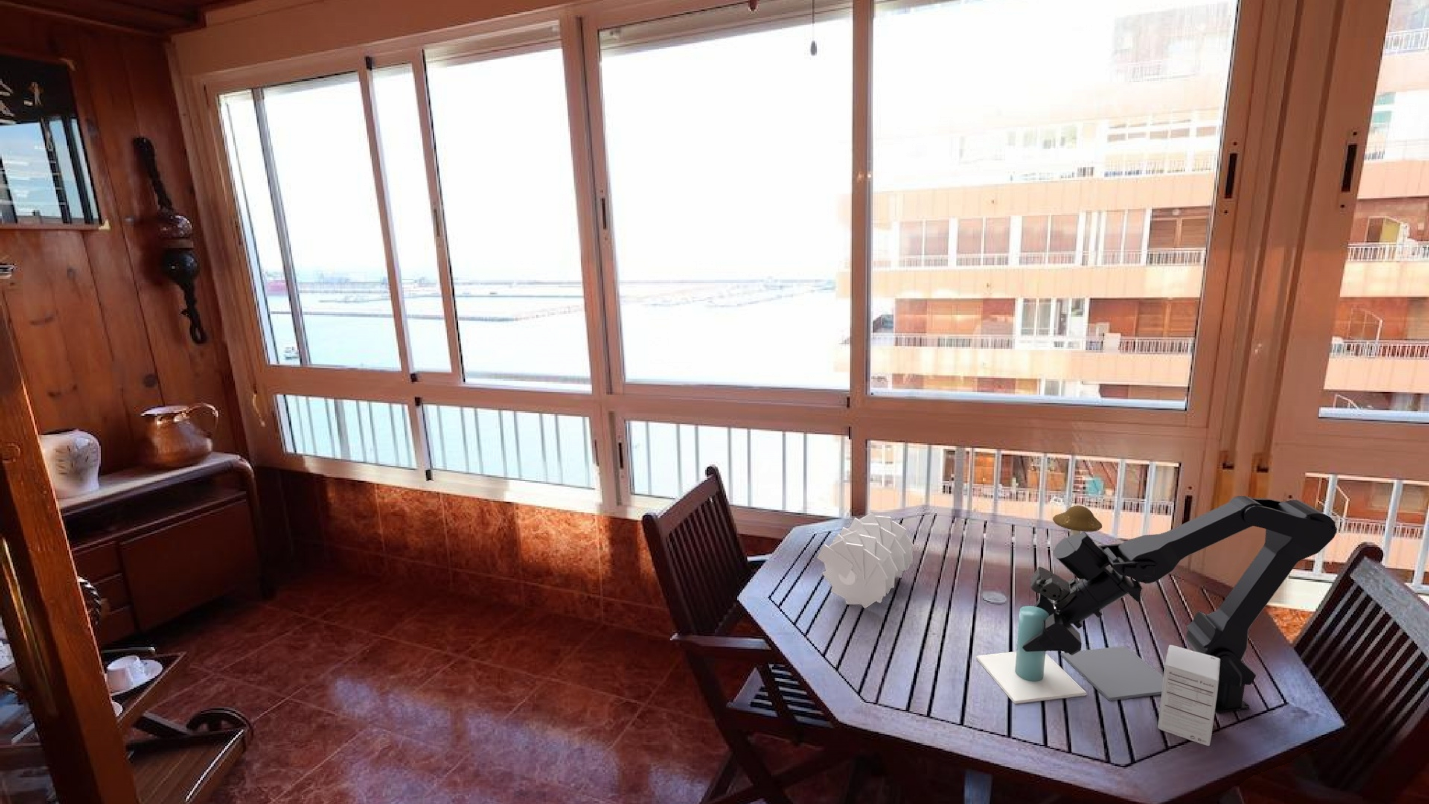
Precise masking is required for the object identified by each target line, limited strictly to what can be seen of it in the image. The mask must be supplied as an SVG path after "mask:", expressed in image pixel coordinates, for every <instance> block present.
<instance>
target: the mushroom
mask: <svg viewBox="0 0 1429 804" xmlns="http://www.w3.org/2000/svg"><path fill="white" fill-rule="evenodd" d="M1052 521H1053V523H1054V524H1056V525H1057V526H1059V527H1061V528H1064V529H1067V530H1070V535H1069V536H1072V535H1079V534H1081V532H1085V533H1089V532H1090V533H1093V532H1098V531H1100V530H1101V529H1102V528H1103V523H1102V522H1101V521H1099V519H1097V518H1096V516H1095V515H1094V513H1093V511H1092V510H1090V509H1089V508H1088V507H1086V506H1084V505H1073V506H1071V507H1069V508H1068V509H1067V510H1065V512H1061V513H1058V514H1055V515H1054V516H1053V517H1052Z"/></svg>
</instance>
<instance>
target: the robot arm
mask: <svg viewBox="0 0 1429 804" xmlns="http://www.w3.org/2000/svg"><path fill="white" fill-rule="evenodd" d="M1252 527H1256V528H1260V529H1264V530H1265V538H1264V544H1263V546H1262V547H1261V548H1260V550H1259V552H1258V553H1257V554H1256V555H1255V557H1254V558H1253V559H1252V561H1251V563H1250V564H1249V566H1248V567H1247V568H1246V569H1245V571H1244V573H1242V575H1241V576H1240V578H1239V579H1238V581H1237V582H1236V584H1235V585H1234V587H1232V589H1231V590H1230V592H1229V593H1228V595H1227V596H1226V598H1225V599H1224V600H1223V601H1222V603H1221V605H1220V606H1219V608H1217V610H1215V611H1212V612H1210V613H1207V614H1206V613H1204V612H1202V611H1201V610H1200V611H1199V610H1198V612H1196V613H1195V616H1194V618H1193V620H1192V621H1191V622H1190V623H1189V624H1187V625H1186V626H1185V628H1186V630H1187V632H1186V634H1185V637H1186V641H1187V644H1188V645H1189V647H1191V648H1192V651H1195V652H1199V653H1203V654H1207V655H1210V656H1213V657H1217V658H1219V659H1220V670H1219V682H1218V691H1217V699H1216V706H1215V712H1216V713H1226V712H1228V713H1229V712H1235V711H1243V710H1250V705H1249V704H1248V703H1247V702H1245V701H1244V696H1245V695H1244V694H1245V689H1246V688H1245V687H1246V685H1248V686H1251V685H1252V683H1253V682H1254V681H1255V679H1256V677H1257V675H1256V673H1255V672H1254V671H1253V670H1252V669H1251V668H1250V667H1249V666H1248V665H1247V664H1246V662H1244V660H1243V658H1244V655H1245V653H1246V652H1247V649H1248V641H1249V640H1248V639H1249V629H1250V628H1251V627H1252V625H1253V624H1254V622H1255V620H1256V619H1257V618H1258V617H1259V615H1260V614H1261V613H1262V611H1263V610H1264V609H1265V607H1266V606H1267V605H1268V603H1269V602H1270V600H1271V599H1272V598H1273V596H1274V595H1275V594H1276V593H1277V591H1278V590H1279V589H1280V587H1281V586H1282V584H1283V583H1284V582H1285V580H1286V579H1287V578H1288V576H1289V575H1290V573H1292V571H1293V569H1295V567H1296V566H1297V564H1298V563H1299V562H1300V561H1302V560H1305V559H1307V558H1310V557H1311V556H1314V555H1317V554H1319V553H1320V552H1321V551H1322V550H1323V549H1325V548H1326V547H1327V545H1329V544H1330V542H1332V541H1333V539H1334V538H1335V537H1336V535H1337V532H1338V528H1337V526H1336V522H1335V520H1334V519H1333V518H1332V517H1330V516H1329V515H1327V514H1325V513H1324V512H1322V511H1321V510H1318V509H1316V508H1315V507H1313V506H1311V505H1309V504H1308V503H1306V502H1304V501H1301V500H1298V499H1288V500H1286V501H1280V500H1275V499H1271V498H1259V497H1258V498H1257V497H1251V496H1246V495H1237V496H1234V497H1232V498H1231V499H1230V500H1229V501H1228V502H1227V503H1224V504H1222V505H1220V506H1218V507H1215V508H1214V509H1212V510H1209V511H1207V512H1206V513H1204V514H1201V515H1199V516H1197V517H1195V518H1192V519H1191V520H1189V521H1186V522H1184V523H1182V524H1180V525H1179V526H1175V527H1174V528H1171V529H1170V530H1168V531H1165V532H1161V533H1158V534H1157V533H1155V534H1144V535H1141V536H1138V537H1135V538H1134V537H1133V538H1131V539H1127V540H1124V541H1123V542H1122V543H1114V544H1101V545H1098V544H1096V543H1095V541H1094V540H1093V539H1092V538H1091V537H1090V535H1089V534H1087V532H1083V531H1081V532H1080V534H1079V535H1072V536H1070V535H1069V536H1067V537H1063V538H1062V539H1061V540H1060V541H1059V542H1058V543H1057V544H1056V545H1055V546H1054V548H1053V557H1054V558H1056V560H1058V561H1059V562H1060V563H1061V564H1062V565H1063V566H1064V567H1065V568H1066V569H1067V570H1068V571H1069V572H1070V573H1072V574H1073V575H1074V576H1075V578H1071V579H1070V580H1068V581H1067V580H1065V579H1064V578H1062V577H1061V576H1059V575H1058V574H1056V573H1053V572H1051V571H1050V570H1048V569H1046V568H1044V567H1043V566H1038V567H1037V569H1036V571H1035V572H1034V573H1033V574H1032V576H1031V577H1030V579H1029V581H1030V589H1031V590H1032V591H1033V592H1035V593H1036V594H1039V596H1038V600H1037V601H1036V603H1034V605H1033V606H1035V607H1039V608H1041V609H1043V610H1045V611H1046V612H1047V613H1048V614H1049V617H1048V618H1047V619H1046V621H1044V620H1043V622H1042V630H1041V631H1040V632H1038V633H1037V634H1036V635H1035V636H1034V637H1032V638H1031V639H1030V640H1029V641H1027V642H1026V643H1025V644H1024V645H1023V646H1022V648H1023V649H1024V650H1025V651H1026V652H1034V651H1046V652H1063V653H1069V654H1070V655H1074V654H1075V653H1077V652H1079V651H1082V644H1083V643H1082V639H1081V633H1080V631H1078V630H1079V629H1080V628H1082V627H1083V626H1084V624H1083V621H1085V620H1086V619H1089V618H1090V617H1091V616H1093V615H1095V616H1096V618H1099V617H1101V616H1103V611H1102V610H1104V609H1105V608H1107V607H1108V606H1110V605H1111V604H1113V603H1115V602H1117V601H1118V600H1121V599H1122V598H1124V597H1125V596H1127V595H1129V596H1130V597H1131V598H1132V599H1133V600H1135V602H1137V603H1140V602H1141V600H1142V598H1141V595H1142V594H1141V593H1142V590H1143V586H1142V585H1141V583H1142V584H1146V585H1149V584H1153V583H1156V582H1158V581H1160V580H1161V579H1162V578H1164V577H1166V576H1167V575H1168V574H1170V573H1172V572H1173V571H1174V570H1175V569H1176V567H1177V566H1178V564H1179V563H1180V562H1181V561H1183V559H1185V558H1187V557H1188V556H1191V555H1193V554H1196V553H1197V552H1200V551H1202V550H1204V549H1206V548H1209V547H1210V546H1213V545H1215V544H1217V543H1219V542H1222V541H1223V540H1225V539H1227V538H1230V537H1232V536H1235V535H1236V534H1239V533H1241V532H1243V531H1245V530H1247V529H1249V528H1252ZM1130 578H1132V579H1130ZM1074 626H1075V627H1074ZM1076 628H1077V629H1076Z"/></svg>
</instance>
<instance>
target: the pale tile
mask: <svg viewBox="0 0 1429 804" xmlns="http://www.w3.org/2000/svg"><path fill="white" fill-rule="evenodd" d="M975 659H976V661H978V662H979V664H980V665H981V666H982V667H983V668H984V670H985V671H987V673H988V674H989V675H990V676H991V678H992V679H993V681H995V683H996V684H997V685H998V686H999V687H1000V689H1002V691H1003V692H1004V693H1005V694H1006V695H1007V697H1008V698H1009V699H1010V700H1011V702H1012V703H1013V704H1024V703H1025V704H1026V703H1033V702H1042V701H1048V700H1049V701H1050V700H1057V699H1066V698H1074V697H1084V696H1087V691H1086V690H1084V689H1083V688H1082V687H1081V686H1080V685H1079V684H1078V683H1077V681H1076V680H1074V679H1073V678H1072V677H1071V676H1070V675H1069V674H1068V673H1067V672H1066V671H1065V670H1064V669H1063V668H1062V667H1061V666H1060V665H1059V664H1057V662H1056V661H1054V659H1053V658H1052V657H1050V656H1049V654H1047V653H1046V654H1045V665H1044V677H1043V679H1042V680H1041V681H1037V682H1032V681H1027V680H1024V679H1022V678H1020V677H1019V676H1018V675H1017V674H1016V673H1015V664H1016V651H1010V652H1001V653H998V652H997V653H992V654H990V653H989V654H982V655H981V654H980V655H976V656H975Z"/></svg>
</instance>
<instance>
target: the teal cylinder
mask: <svg viewBox="0 0 1429 804" xmlns="http://www.w3.org/2000/svg"><path fill="white" fill-rule="evenodd" d="M1018 615H1019V616H1018V626H1017V638H1016V639H1017V640H1016V650H1015V652H1016V664H1015V673H1016V674H1017V675H1018V676H1019V677H1020V678H1022V679H1024V680H1027V681H1032V682H1037V681H1041V680H1042V679H1043V677H1044V665H1045V654H1047V653H1046V652H1047V651H1034V652H1026V651H1025V650H1024V649H1023V648H1022V646H1023V645H1024V644H1025V643H1026V642H1027V641H1029V640H1030V639H1031V638H1032V637H1034V636H1035V635H1036V634H1037V633H1038V632H1040V631H1041V630H1042V622H1043V620H1044V621H1046V619H1047V618H1048V617H1049V614H1048V613H1047V612H1046V611H1045V610H1043V609H1041V608H1039V607H1035V606H1034V605H1025V606H1021V607H1020V608H1019V614H1018Z"/></svg>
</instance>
